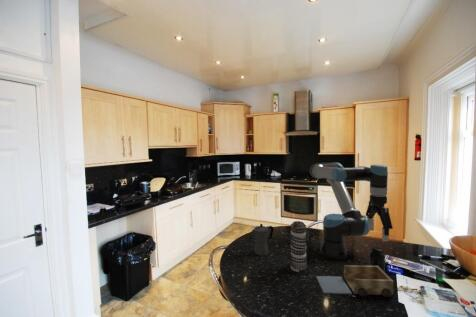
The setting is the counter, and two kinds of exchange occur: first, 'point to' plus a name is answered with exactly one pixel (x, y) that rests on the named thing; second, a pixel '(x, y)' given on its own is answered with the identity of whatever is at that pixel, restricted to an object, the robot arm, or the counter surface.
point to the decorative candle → (298, 246)
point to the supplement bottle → (377, 257)
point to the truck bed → (368, 280)
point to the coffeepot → (262, 239)
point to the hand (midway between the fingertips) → (377, 235)
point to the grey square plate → (333, 285)
